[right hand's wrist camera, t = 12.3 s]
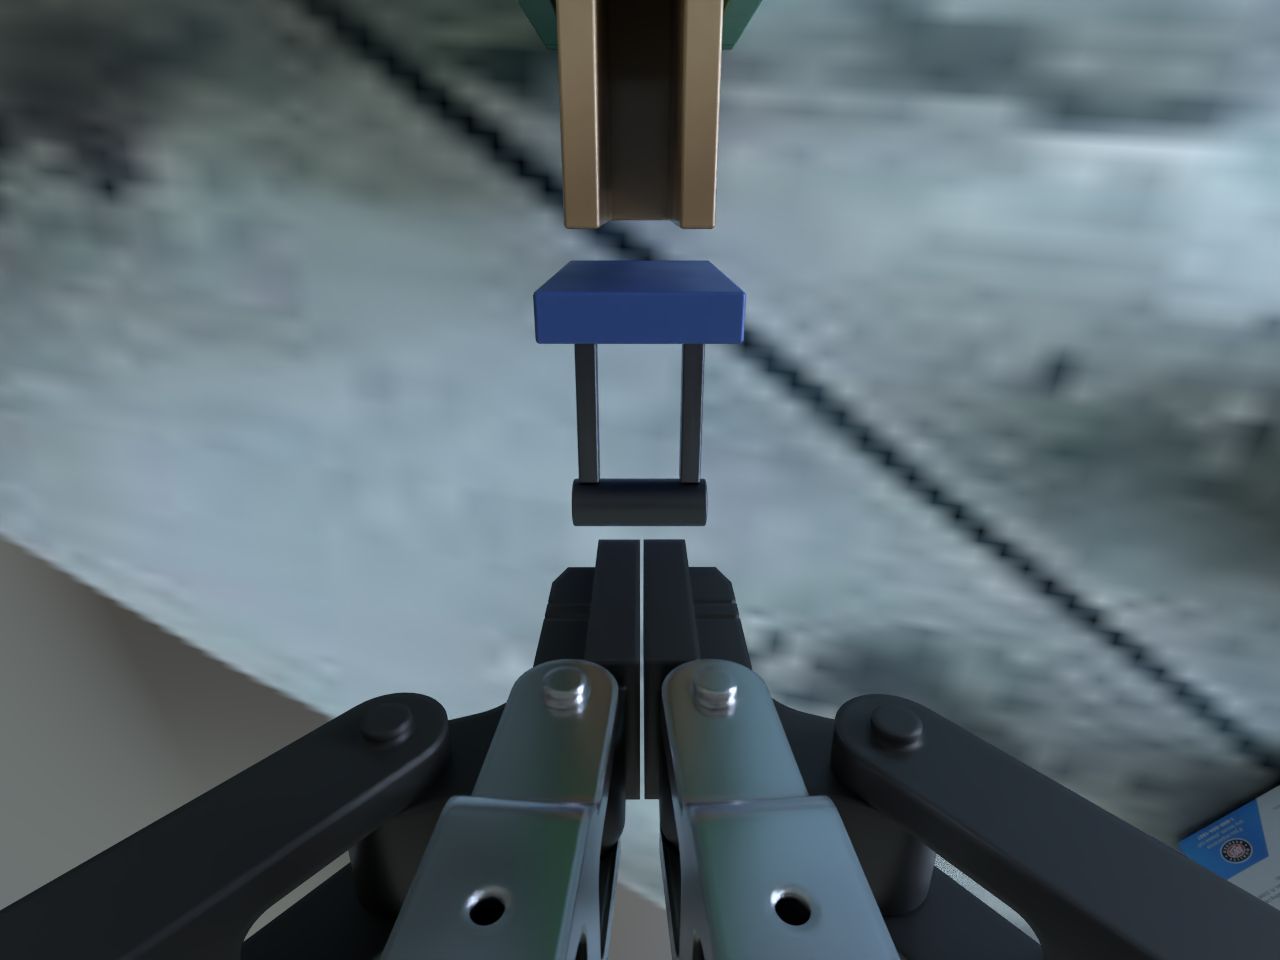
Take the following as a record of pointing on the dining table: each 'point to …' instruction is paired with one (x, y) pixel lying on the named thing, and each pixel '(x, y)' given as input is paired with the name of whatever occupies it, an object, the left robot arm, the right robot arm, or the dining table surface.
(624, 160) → the drawer
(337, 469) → the dining table surface
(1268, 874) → the ink box
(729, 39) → the cabinet
